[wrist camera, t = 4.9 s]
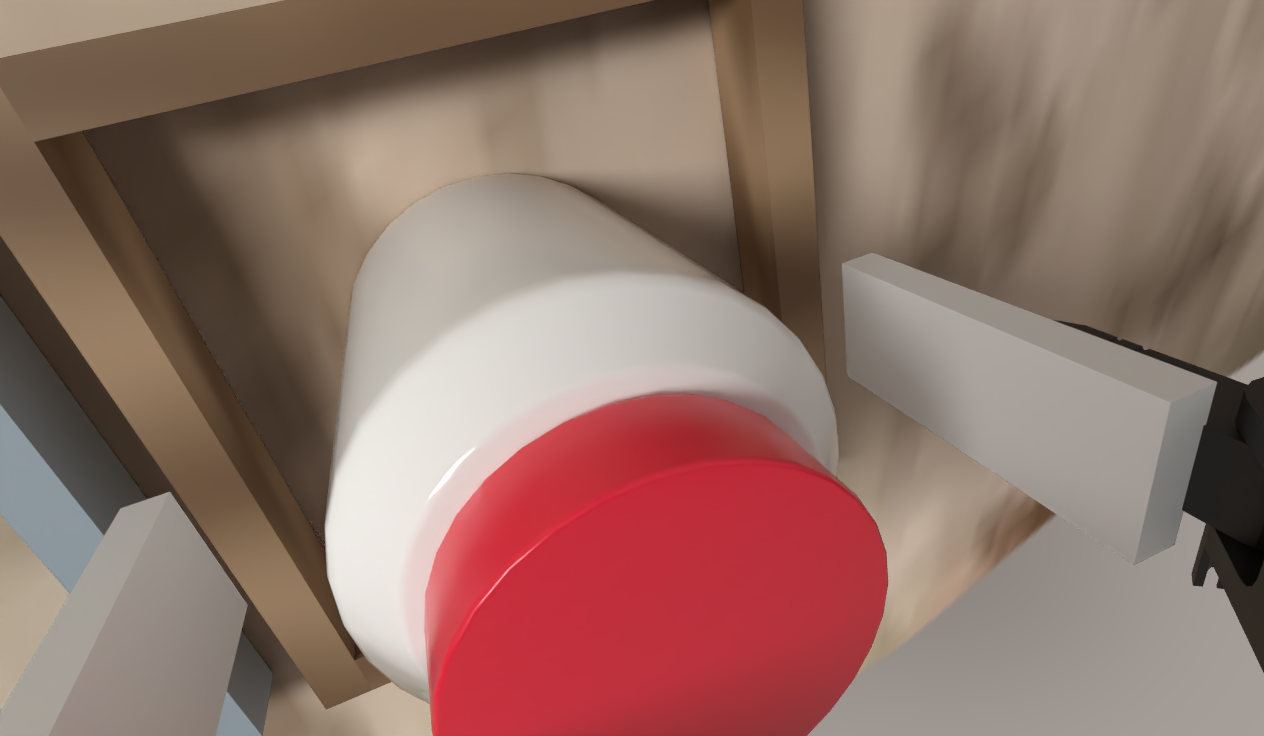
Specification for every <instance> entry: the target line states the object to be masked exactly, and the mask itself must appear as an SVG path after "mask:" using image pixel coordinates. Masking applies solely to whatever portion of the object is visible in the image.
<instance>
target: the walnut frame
mask: <svg viewBox="0 0 1264 736" xmlns="http://www.w3.org/2000/svg"><path fill="white" fill-rule="evenodd" d="M649 1H653V0H284V1H280V2H275V3H270V4H265V5H260V6H255V7H250V8H245V9H240V10H235V11H230V12H225V13H220V14H215V15H210V16H205V17H201V18H196V19H191V20H186V21H181V22H176V23H171V24H166V25H161V26H156V27H151V28H146V29H141V30H136V31H131V32H126V33H122V34H117V35H112V36H107V37H102V38H97V39H92V40H87V41H82V42H77V43H72V44H67V45H62V46H57V47H52V48H47V49H43V50H38V51H33V52H28V53H23V54H18V55H13V56H8V57H3V58H0V236H1V237H2V239H3V240H4V242H5V243H6V245H7V246H8V248H9V249H10V250H11V252H12V253H13V255H14V256H15V258H16V259H17V261H18V262H19V264H20V265H21V266H22V268H23V269H24V271H25V272H26V274H27V275H28V277H29V278H30V279H31V281H32V282H33V284H34V285H35V287H36V288H37V290H38V291H39V293H40V294H41V295H42V297H43V298H44V300H45V301H46V303H47V304H48V306H49V307H50V309H51V310H52V311H53V313H54V314H55V316H56V317H57V319H58V320H59V322H60V323H61V325H62V326H63V327H64V329H65V330H66V332H67V333H68V335H69V336H70V338H71V339H72V341H73V342H74V343H75V345H76V346H77V348H78V349H79V351H80V352H81V354H82V355H83V357H84V358H85V359H86V361H87V362H88V364H89V365H90V367H91V368H92V370H93V371H94V373H95V374H96V375H97V377H98V378H99V380H100V381H101V383H102V384H103V386H104V387H105V389H106V390H107V391H108V393H109V394H110V396H111V397H112V399H113V400H114V402H115V403H116V405H117V406H118V407H119V409H120V410H121V412H122V413H123V415H124V416H125V418H126V419H127V421H128V422H129V423H130V425H131V426H132V428H133V429H134V431H135V432H136V434H137V435H138V437H139V438H140V439H141V441H142V442H143V444H144V445H145V447H146V448H147V450H148V451H149V453H150V454H151V455H152V457H153V458H154V460H155V461H156V463H157V464H158V466H159V467H160V469H161V470H162V471H163V473H164V474H165V476H166V477H167V479H168V480H169V482H170V483H171V485H172V486H173V487H174V489H175V490H176V492H177V493H178V495H179V496H180V498H181V499H182V500H183V502H184V503H185V505H186V506H187V508H188V509H189V511H190V512H191V514H192V515H193V516H194V518H195V519H196V521H197V522H198V524H199V525H200V527H201V528H202V530H203V531H204V532H205V534H206V535H207V537H208V538H209V540H210V541H211V543H212V544H213V546H214V547H215V548H216V550H217V551H218V553H219V554H220V556H221V557H222V559H223V560H224V562H225V563H226V564H227V566H228V567H229V569H230V570H231V572H232V573H233V575H234V576H235V578H236V579H237V580H238V582H239V583H240V585H241V586H242V588H243V589H244V591H245V592H246V594H247V595H248V596H249V598H250V599H251V601H252V602H253V604H254V605H255V607H256V608H257V610H258V611H259V612H260V614H261V615H262V617H263V618H264V620H265V621H266V623H267V624H268V626H269V627H270V628H271V630H272V631H273V633H274V634H275V636H276V637H277V639H278V640H279V642H280V643H281V644H282V646H283V647H284V649H285V650H286V652H287V653H288V655H289V656H290V658H291V659H292V660H293V662H294V663H295V665H296V666H297V668H298V669H299V671H300V672H301V674H302V675H303V676H304V678H305V679H306V681H307V682H308V684H309V685H310V687H311V688H312V690H313V691H314V692H315V694H316V695H317V697H318V698H319V700H320V701H321V703H322V704H323V705H324V707H325V708H326V709H328V708H331V707H333V706H336V705H338V704H340V703H343V702H345V701H347V700H350V699H352V698H354V697H357V696H359V695H361V694H364V693H366V692H369V691H371V690H373V689H376V688H378V687H380V686H383V685H385V684H387V683H390V682H392V681H390V680H389V679H388V678H387V677H386V676H385V675H383V674H382V673H381V672H380V671H379V670H378V669H376V668H375V667H374V666H373V665H372V664H371V663H369V662H368V660H367V659H366V657H365V656H364V655H363V653H362V652H361V650H360V649H359V647H358V646H357V644H356V643H355V641H354V640H353V638H352V637H351V636H350V634H349V633H348V631H347V630H346V628H345V627H344V625H343V622H342V619H341V616H340V613H339V610H338V607H337V604H336V601H335V598H334V595H333V592H332V589H331V586H330V583H329V580H328V577H327V564H326V552H325V550H324V548H323V546H322V545H321V543H320V541H319V540H318V538H317V536H316V534H315V533H314V531H313V529H312V527H311V526H310V524H309V522H308V521H307V519H306V517H305V515H304V514H303V512H302V510H301V508H300V507H299V505H298V503H297V502H296V500H295V498H294V496H293V495H292V493H291V491H290V489H289V488H288V486H287V484H286V483H285V481H284V479H283V477H282V476H281V474H280V472H279V470H278V469H277V467H276V465H275V464H274V462H273V460H272V458H271V457H270V455H269V453H268V451H267V450H266V448H265V446H264V445H263V443H262V441H261V439H260V438H259V436H258V434H257V432H256V431H255V429H254V427H253V426H252V424H251V422H250V420H249V419H248V417H247V415H246V413H245V412H244V410H243V408H242V407H241V405H240V403H239V401H238V400H237V398H236V396H235V394H234V393H233V391H232V389H231V388H230V386H229V384H228V382H227V381H226V379H225V377H224V375H223V374H222V372H221V370H220V369H219V367H218V365H217V363H216V362H215V360H214V358H213V356H212V355H211V353H210V351H209V349H208V348H207V346H206V344H205V343H204V341H203V339H202V337H201V336H200V334H199V332H198V330H197V329H196V327H195V325H194V324H193V322H192V320H191V318H190V317H189V315H188V313H187V311H186V310H185V308H184V306H183V305H182V303H181V301H180V299H179V298H178V296H177V294H176V292H175V291H174V289H173V287H172V286H171V284H170V282H169V280H168V279H167V277H166V275H165V273H164V272H163V270H162V268H161V267H160V265H159V263H158V261H157V260H156V258H155V256H154V254H153V253H152V251H151V249H150V248H149V246H148V244H147V242H146V241H145V239H144V237H143V235H142V234H141V232H140V230H139V229H138V227H137V225H136V223H135V222H134V220H133V218H132V216H131V215H130V213H129V211H128V210H127V208H126V206H125V204H124V203H123V201H122V199H121V197H120V196H119V194H118V192H117V191H116V189H115V187H114V185H113V184H112V182H111V180H110V178H109V177H108V175H107V173H106V172H105V170H104V168H103V166H102V165H101V163H100V161H99V159H98V158H97V156H96V154H95V153H94V151H93V149H92V147H91V146H90V144H89V142H88V140H87V139H86V137H85V135H84V134H83V132H82V131H83V130H88V129H92V128H97V127H101V126H105V125H110V124H114V123H118V122H123V121H127V120H132V119H136V118H140V117H145V116H149V115H154V114H158V113H162V112H167V111H171V110H175V109H180V108H184V107H189V106H193V105H197V104H202V103H206V102H211V101H215V100H219V99H224V98H228V97H232V96H237V95H241V94H246V93H250V92H254V91H259V90H263V89H267V88H272V87H276V86H281V85H285V84H289V83H294V82H298V81H303V80H307V79H311V78H316V77H320V76H324V75H329V74H333V73H338V72H342V71H346V70H351V69H355V68H359V67H364V66H368V65H373V64H377V63H381V62H386V61H390V60H395V59H399V58H403V57H408V56H412V55H416V54H421V53H425V52H430V51H434V50H438V49H443V48H447V47H452V46H456V45H460V44H465V43H469V42H473V41H478V40H482V39H487V38H491V37H495V36H500V35H504V34H508V33H513V32H517V31H522V30H526V29H530V28H535V27H539V26H544V25H548V24H552V23H557V22H561V21H565V20H570V19H574V18H579V17H583V16H587V15H592V14H596V13H600V12H605V11H609V10H614V9H618V8H622V7H627V6H631V5H636V4H640V3H644V2H649ZM708 4H709V12H710V20H711V28H712V36H713V44H714V52H715V60H716V69H717V77H718V85H719V93H720V101H721V109H722V117H723V125H724V133H725V141H726V149H727V158H728V166H729V174H730V182H731V190H732V198H733V206H734V214H735V222H736V230H737V238H738V246H739V255H740V263H741V271H742V279H743V287H744V293H745V294H746V295H748V296H749V297H751V298H752V299H754V300H756V301H757V302H759V303H760V304H762V305H763V306H764V307H766V308H767V309H768V310H769V311H770V312H771V313H772V314H773V315H775V316H776V317H777V318H778V319H779V320H780V321H781V322H782V323H783V324H784V325H785V326H787V327H788V328H789V329H790V330H791V331H792V332H793V333H794V334H795V335H796V336H797V337H798V338H799V340H800V341H801V343H802V344H803V346H804V347H805V349H806V350H807V352H808V353H809V355H810V357H811V358H812V360H813V361H814V363H815V364H816V366H817V367H818V369H819V370H820V372H821V373H822V375H823V377H824V380H825V383H826V386H827V382H826V366H825V350H824V334H823V317H822V301H821V285H820V269H819V253H818V237H817V221H816V205H815V189H814V173H813V157H812V141H811V125H810V109H809V92H808V76H807V60H806V44H805V28H804V12H803V0H708Z"/></svg>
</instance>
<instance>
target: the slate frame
mask: <svg viewBox="0 0 1264 736" xmlns="http://www.w3.org/2000/svg"><path fill="white" fill-rule="evenodd" d="M144 500H147V498H146V497H145V496H144V494H143V493H142V491H141V490H140V489H139V487H138V486H137V485H136V483H135V482H134V480H133V479H132V478H131V476H130V475H129V473H128V472H127V471H126V469H125V468H124V467H123V465H122V464H121V462H120V461H119V460H118V458H117V457H116V455H115V454H114V453H113V451H112V450H111V448H110V447H109V446H108V444H107V443H106V442H105V440H104V439H103V437H102V436H101V435H100V433H99V432H98V430H97V429H96V428H95V426H94V425H93V424H92V422H91V421H90V419H89V418H88V417H87V415H86V414H85V412H84V411H83V410H82V408H81V407H80V405H79V404H78V403H77V401H76V400H75V399H74V397H73V396H72V394H71V393H70V392H69V390H68V389H67V387H66V386H65V385H64V383H63V382H62V381H61V379H60V378H59V376H58V375H57V374H56V372H55V371H54V369H53V368H52V367H51V365H50V364H49V362H48V361H47V360H46V358H45V357H44V356H43V354H42V353H41V351H40V350H39V349H38V347H37V346H36V344H35V343H34V342H33V340H32V339H31V338H30V336H29V335H28V333H27V332H26V331H25V329H24V328H23V326H22V325H21V324H20V322H19V321H18V319H17V318H16V317H15V315H14V314H13V313H12V311H11V310H10V308H9V307H8V306H7V304H6V303H5V301H4V300H3V299H2V297H1V296H0V514H1V516H2V517H3V518H4V519H5V520H6V521H7V522H8V524H9V525H10V526H11V527H12V528H13V529H14V530H15V532H16V533H17V534H18V535H19V536H20V537H21V538H22V540H23V541H24V542H25V543H26V544H27V545H28V546H29V548H30V549H31V550H32V551H33V552H34V553H35V554H36V556H37V557H38V558H39V559H40V560H41V561H42V562H43V564H44V565H45V566H46V567H47V568H48V569H49V570H50V572H51V573H52V574H53V575H54V576H55V577H56V578H57V580H58V581H59V582H60V583H61V584H62V585H63V586H64V588H65V589H66V590H67V591H68V592H69V593H71V591H72V590H73V588H74V586H75V585H76V583H77V581H78V579H79V578H80V576H81V574H82V573H83V571H84V569H85V568H86V566H87V564H88V562H89V561H90V559H91V557H92V556H93V554H94V552H95V551H96V549H97V547H98V546H99V544H100V542H101V540H102V539H103V537H104V535H105V534H106V532H107V530H108V529H109V527H110V525H111V524H112V522H113V520H114V518H115V517H116V515H117V513H118V512H119V510H120V508H123V507H126V506H129V505H132V504H135V503H138V502H141V501H144ZM272 677H273V673H272V672H271V670H270V669H269V668H268V666H267V665H266V663H265V662H264V661H263V659H262V658H261V657H260V655H259V654H258V652H257V651H256V650H255V648H254V647H253V645H252V644H251V643H250V641H249V640H248V639H247V637H246V636H245V634H244V633H243V632H242V631H241V635H240V639H239V643H238V647H237V651H236V655H235V659H234V663H233V667H232V671H231V675H230V679H229V683H228V687H227V692H226V696H225V700H224V704H223V708H222V712H221V716H220V720H219V724H218V728H217V732H216V736H263V730H264V725H265V719H266V713H267V707H268V701H269V695H270V689H271V683H272Z"/></svg>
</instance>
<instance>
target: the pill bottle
mask: <svg viewBox="0 0 1264 736" xmlns="http://www.w3.org/2000/svg"><path fill="white" fill-rule="evenodd" d="M838 459H839V442H838V432H837V422H836V412H835V409H834V406H833V403H832V401H831V398H830V395H829V392H828V389H827V386H826V383H825V380H824V377H823V375H822V373H821V372H820V370H819V369H818V367H817V366H816V364H815V363H814V361H813V360H812V358H811V357H810V355H809V353H808V352H807V350H806V349H805V347H804V346H803V344H802V343H801V341H800V340H799V338H798V337H797V336H796V335H795V334H794V333H793V332H792V331H791V330H790V329H789V328H788V327H787V326H785V325H784V324H783V323H782V322H781V321H780V320H779V319H778V318H777V317H776V316H775V315H773V314H772V313H771V312H770V311H769V310H768V309H767V308H766V307H764V306H763V305H762V304H760V303H759V302H757V301H756V300H754V299H752V298H751V297H749V296H748V295H746V294H745V293H743V292H741V291H740V290H738V289H737V288H735V287H734V286H732V285H730V284H729V283H727V282H726V281H724V280H723V279H721V278H719V277H718V276H716V275H715V274H713V273H711V272H710V271H708V270H707V269H705V268H704V267H702V266H700V265H699V264H697V263H696V262H694V261H693V260H691V259H689V258H688V257H686V256H685V255H683V254H682V253H680V252H678V251H677V250H675V249H674V248H672V247H671V246H669V245H667V244H666V243H664V242H663V241H661V240H659V239H658V238H656V237H655V236H653V235H652V234H650V233H648V232H647V231H645V230H644V229H642V228H641V227H639V226H637V225H636V224H634V223H633V222H631V221H630V220H628V219H626V218H625V217H623V216H622V215H620V214H618V213H617V212H615V211H614V210H612V209H611V208H609V207H607V206H606V205H604V204H603V203H601V202H600V201H598V200H596V199H594V198H593V197H591V196H589V195H587V194H585V193H584V192H582V191H580V190H578V189H576V188H575V187H573V186H571V185H568V184H564V183H561V182H558V181H555V180H552V179H548V178H545V177H542V176H535V175H525V174H514V173H502V174H493V175H483V176H475V177H471V178H468V179H465V180H462V181H459V182H456V183H453V184H449V185H446V186H443V187H441V188H439V189H438V190H436V191H434V192H432V193H430V194H429V195H427V196H425V197H423V198H422V199H420V200H418V201H416V202H414V203H413V204H412V205H410V206H409V207H408V208H407V209H406V210H405V211H404V212H402V213H401V214H400V215H399V216H398V217H397V218H396V219H394V220H393V221H392V222H391V223H390V224H389V225H388V226H387V227H386V228H385V230H384V231H383V232H382V234H381V235H380V236H379V238H378V239H377V240H376V242H375V243H374V245H373V246H372V247H371V249H370V250H369V251H368V253H367V255H366V257H365V260H364V262H363V264H362V266H361V269H360V271H359V273H358V275H357V277H356V280H355V282H354V287H353V292H352V297H351V302H350V307H349V312H348V319H347V328H346V337H345V346H344V355H343V364H342V372H341V381H340V390H339V399H338V408H337V417H336V426H335V435H334V443H333V452H332V461H331V470H330V479H329V488H328V497H327V506H326V514H325V544H326V564H327V577H328V580H329V583H330V586H331V589H332V592H333V595H334V598H335V601H336V604H337V607H338V610H339V613H340V616H341V619H342V622H343V625H344V627H345V628H346V630H347V631H348V633H349V634H350V636H351V637H352V638H353V640H354V641H355V643H356V644H357V646H358V647H359V649H360V650H361V652H362V653H363V655H364V656H365V657H366V659H367V660H368V662H369V663H371V664H372V665H373V666H374V667H375V668H376V669H378V670H379V671H380V672H381V673H382V674H383V675H385V676H386V677H387V678H388V679H389V680H390V681H392V682H393V683H394V684H395V685H396V686H397V687H399V688H400V689H401V690H403V691H405V692H407V693H409V694H411V695H413V696H415V697H417V698H419V699H421V700H423V701H425V702H426V703H428V704H430V711H431V724H432V733H433V736H807V735H808V734H809V733H810V732H811V731H812V730H813V728H814V727H815V726H816V725H817V724H818V723H819V722H820V721H821V720H822V719H823V718H824V717H825V716H826V715H827V714H828V713H829V712H830V710H831V709H832V708H833V707H834V705H835V704H836V703H837V701H838V700H839V698H840V697H841V696H842V694H843V693H844V692H845V690H846V689H847V688H848V686H849V685H850V684H851V682H852V681H853V680H854V678H855V676H856V674H857V673H858V671H859V669H860V667H861V665H862V664H863V662H864V660H865V658H866V656H867V654H868V653H869V651H870V649H871V647H872V644H873V642H874V639H875V636H876V633H877V631H878V628H879V625H880V622H881V619H882V617H883V612H884V606H885V600H886V594H887V588H888V571H887V555H886V550H885V547H884V544H883V541H882V538H881V535H880V532H879V529H878V526H877V524H876V522H875V520H874V519H873V518H872V516H871V515H870V513H869V512H868V511H867V509H866V508H865V506H864V505H863V504H862V502H861V501H860V499H859V498H858V497H857V495H856V494H855V493H854V492H852V491H851V490H850V489H849V488H848V487H847V486H846V485H845V484H844V483H842V482H841V481H840V480H839V479H838V478H837V468H838Z"/></svg>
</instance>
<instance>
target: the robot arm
mask: <svg viewBox="0 0 1264 736" xmlns="http://www.w3.org/2000/svg"><path fill="white" fill-rule="evenodd" d="M842 282H843V302H844V321H845V341H846V361H847V376H848V377H850V378H851V379H853V380H854V381H856V382H857V383H859V384H860V385H862V386H863V387H865V388H866V389H868V390H869V391H871V392H872V393H874V394H875V395H877V396H878V397H880V398H881V399H883V400H884V401H886V402H887V403H889V404H890V405H892V406H893V407H895V408H896V409H898V410H899V411H901V412H903V413H904V414H906V415H907V416H909V417H910V418H912V419H913V420H915V421H916V422H918V423H919V424H921V425H922V426H924V427H925V428H927V429H928V430H930V431H931V432H933V433H934V434H936V435H937V436H939V437H940V438H942V439H943V440H945V441H946V442H948V443H949V444H951V445H952V446H954V447H956V448H957V449H959V450H960V451H962V452H963V453H965V454H966V455H968V456H969V457H971V458H972V459H974V460H975V461H977V462H978V463H980V464H981V465H983V466H984V467H986V468H987V469H989V470H990V471H992V472H993V473H995V474H996V475H998V476H999V477H1001V478H1002V479H1004V480H1005V481H1007V482H1009V483H1010V484H1012V485H1013V486H1015V487H1016V488H1018V489H1019V490H1021V491H1022V492H1024V493H1025V494H1027V495H1028V496H1030V497H1031V498H1033V499H1034V500H1036V501H1037V502H1039V503H1040V504H1042V505H1043V506H1045V507H1046V508H1048V509H1049V510H1051V511H1052V512H1054V513H1055V514H1057V515H1058V516H1060V517H1062V518H1063V519H1065V520H1066V521H1068V522H1069V523H1071V524H1072V525H1074V526H1075V527H1077V528H1078V529H1080V530H1081V531H1083V532H1084V533H1086V534H1087V535H1089V536H1091V537H1092V538H1093V539H1095V540H1096V541H1098V542H1099V543H1101V544H1103V545H1104V546H1106V547H1107V548H1109V549H1110V550H1111V551H1113V552H1115V553H1116V554H1118V555H1119V556H1121V557H1122V558H1124V559H1125V560H1127V561H1128V562H1130V563H1131V564H1133V565H1135V564H1138V563H1139V562H1142V561H1144V560H1145V559H1147V558H1149V557H1151V556H1153V555H1155V554H1157V553H1159V552H1161V551H1163V550H1165V549H1167V548H1169V547H1171V546H1173V545H1175V541H1176V538H1177V534H1178V530H1179V526H1180V522H1181V519H1182V515H1183V511H1185V512H1187V513H1189V514H1190V515H1192V516H1194V517H1196V518H1198V519H1199V520H1201V521H1203V522H1205V523H1206V525H1205V529H1204V532H1203V536H1202V539H1201V543H1200V546H1199V550H1198V553H1197V557H1196V561H1195V564H1194V567H1193V571H1192V582H1193V585H1194V586H1203V584H1204V581H1205V577H1206V574H1207V571H1208V570H1209V569H1210V568H1211V567H1214V569H1215V571H1216V573H1217V575H1218V577H1219V579H1218V583H1217V588H1221V589H1224V590H1225V592H1226V594H1227V596H1228V598H1229V600H1230V603H1231V605H1232V607H1233V609H1234V611H1235V613H1236V615H1237V617H1238V619H1239V622H1240V624H1241V626H1242V628H1243V630H1244V632H1245V634H1246V636H1247V638H1248V641H1249V642H1250V645H1251V647H1252V649H1253V651H1254V653H1255V655H1256V657H1257V660H1258V662H1259V664H1260V666H1261V668H1262V670H1263V672H1264V377H1263V378H1260V379H1256V380H1253V381H1251V383H1250V384H1249V385H1247V384H1244V383H1241V382H1238V381H1236V380H1233V379H1230V378H1227V377H1225V376H1222V375H1219V374H1216V373H1214V372H1211V371H1208V370H1206V369H1203V368H1200V367H1197V366H1195V365H1192V364H1189V363H1186V362H1184V361H1181V360H1178V359H1175V358H1173V357H1170V356H1167V355H1165V354H1162V353H1159V352H1156V351H1154V350H1151V349H1148V350H1144V349H1143V346H1140V345H1137V344H1134V343H1132V342H1129V341H1126V340H1124V339H1122V340H1120V341H1119V340H1118V339H1117V337H1115V336H1113V335H1110V334H1107V333H1104V332H1102V331H1099V330H1096V329H1093V328H1091V327H1088V326H1085V325H1079V324H1073V323H1068V322H1062V321H1056V320H1051V319H1048V318H1046V317H1043V316H1040V315H1038V314H1035V313H1032V312H1030V311H1027V310H1024V309H1022V308H1019V307H1016V306H1014V305H1011V304H1008V303H1006V302H1003V301H1000V300H998V299H995V298H992V297H990V296H987V295H984V294H982V293H979V292H976V291H974V290H971V289H968V288H966V287H963V286H960V285H958V284H955V283H952V282H950V281H947V280H944V279H942V278H939V277H936V276H934V275H931V274H928V273H926V272H923V271H920V270H918V269H915V268H912V267H910V266H907V265H904V264H902V263H899V262H896V261H894V260H891V259H888V258H886V257H883V256H880V255H878V254H875V253H870V254H867V255H864V256H861V257H858V258H855V259H852V260H849V261H846V262H844V263H842ZM247 606H248V605H247V603H246V602H245V600H244V599H243V597H242V596H241V595H240V593H239V592H238V590H237V589H236V587H235V586H234V584H233V583H232V581H231V580H230V578H229V577H228V576H227V574H226V573H225V571H224V570H223V568H222V567H221V565H220V564H219V562H218V561H217V560H216V558H215V557H214V555H213V554H212V552H211V551H210V549H209V548H208V546H207V545H206V543H205V542H204V541H203V539H202V538H201V536H200V535H199V533H198V532H197V530H196V529H195V527H194V526H193V525H192V523H191V522H190V520H189V519H188V517H187V516H186V514H185V513H184V511H183V510H182V509H181V507H180V506H179V504H178V503H177V501H176V500H175V498H174V497H173V495H172V494H171V492H167V493H164V494H161V495H159V496H156V497H153V498H150V499H147V500H144V501H141V502H138V503H135V504H132V505H129V506H126V507H123V508H120V510H119V512H118V513H117V515H116V517H115V518H114V520H113V522H112V524H111V525H110V527H109V529H108V530H107V532H106V534H105V535H104V537H103V539H102V540H101V542H100V544H99V546H98V547H97V549H96V551H95V552H94V554H93V556H92V557H91V559H90V561H89V562H88V564H87V566H86V568H85V569H84V571H83V573H82V574H81V576H80V578H79V579H78V581H77V583H76V585H75V586H74V588H73V590H72V591H71V593H70V595H69V596H68V598H67V600H66V601H65V603H64V605H63V607H62V608H61V610H60V612H59V613H58V615H57V617H56V618H55V620H54V622H53V623H52V625H51V627H50V629H49V630H48V632H47V634H46V635H45V637H44V639H43V640H42V642H41V644H40V646H39V647H38V649H37V651H36V652H35V654H34V656H33V657H32V659H31V661H30V662H29V664H28V666H27V668H26V669H25V671H24V673H23V674H22V676H21V678H20V679H19V681H18V683H17V685H16V686H15V688H14V690H13V691H12V693H11V695H10V696H9V698H8V700H7V701H6V703H5V705H4V707H3V708H2V710H1V712H0V736H216V732H217V728H218V724H219V720H220V716H221V712H222V708H223V704H224V700H225V696H226V692H227V687H228V683H229V679H230V675H231V671H232V667H233V663H234V659H235V655H236V651H237V647H238V643H239V639H240V635H241V631H242V627H243V623H244V619H245V615H246V610H247Z"/></svg>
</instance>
